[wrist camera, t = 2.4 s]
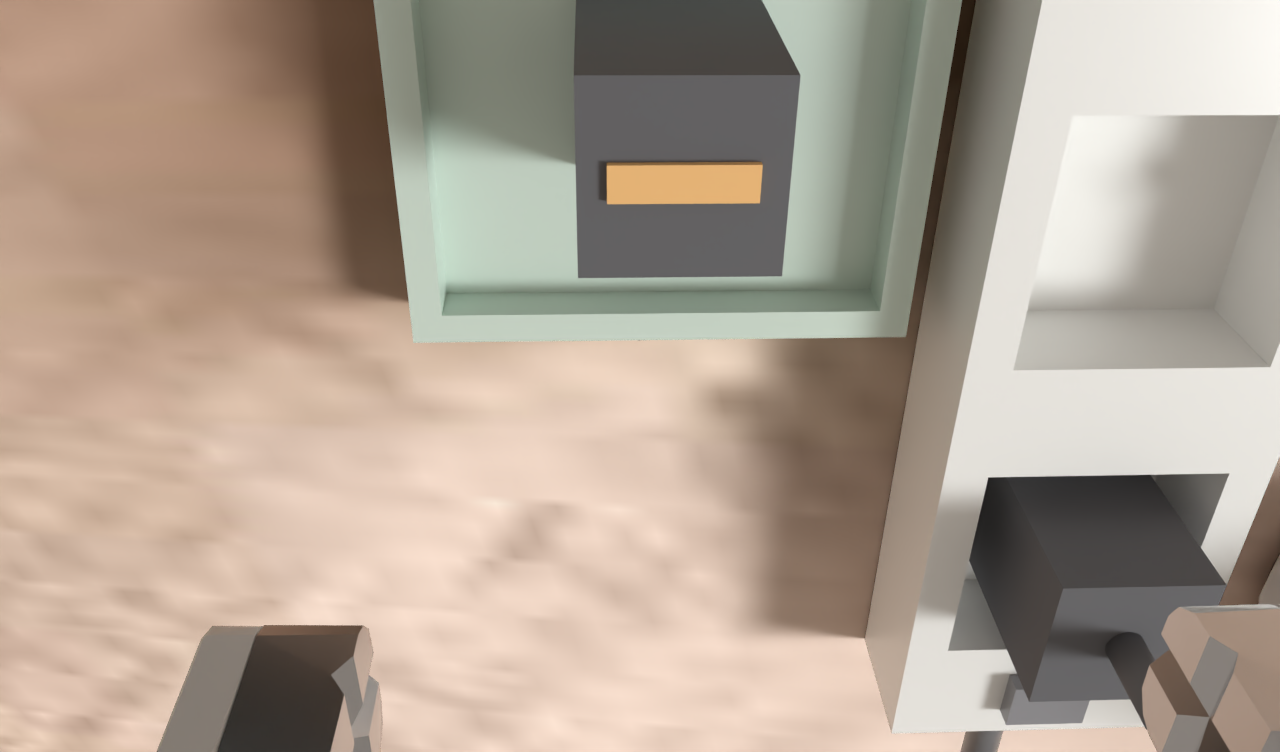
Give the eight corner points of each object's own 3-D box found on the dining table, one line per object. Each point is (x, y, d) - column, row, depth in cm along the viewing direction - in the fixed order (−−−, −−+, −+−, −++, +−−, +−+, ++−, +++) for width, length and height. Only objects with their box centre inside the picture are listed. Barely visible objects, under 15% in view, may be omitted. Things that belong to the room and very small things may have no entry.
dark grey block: (575, -8, 25) (573, 78, 20) (758, -8, 25) (801, 78, 20) (579, 165, 28) (578, 281, 22) (746, 164, 28) (783, 279, 23)
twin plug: (989, 445, 33) (1100, 661, 26) (1128, 443, 33) (1276, 657, 26) (965, 552, 35) (1061, 777, 28) (1095, 549, 35) (1222, 772, 28)
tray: (364, -231, 23) (347, -223, 22) (969, -225, 24) (998, -216, 22) (422, 305, 30) (413, 342, 29) (888, 300, 31) (906, 337, 29)
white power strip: (993, -101, 25) (1066, -58, 21) (1391, -99, 26) (1533, -56, 22) (848, 734, 41) (875, 845, 37) (1095, 728, 41) (1148, 837, 38)
